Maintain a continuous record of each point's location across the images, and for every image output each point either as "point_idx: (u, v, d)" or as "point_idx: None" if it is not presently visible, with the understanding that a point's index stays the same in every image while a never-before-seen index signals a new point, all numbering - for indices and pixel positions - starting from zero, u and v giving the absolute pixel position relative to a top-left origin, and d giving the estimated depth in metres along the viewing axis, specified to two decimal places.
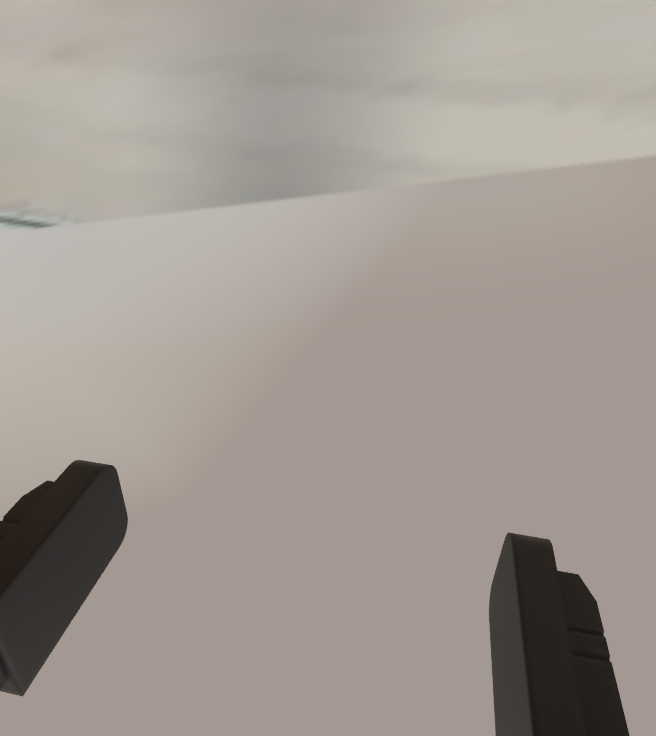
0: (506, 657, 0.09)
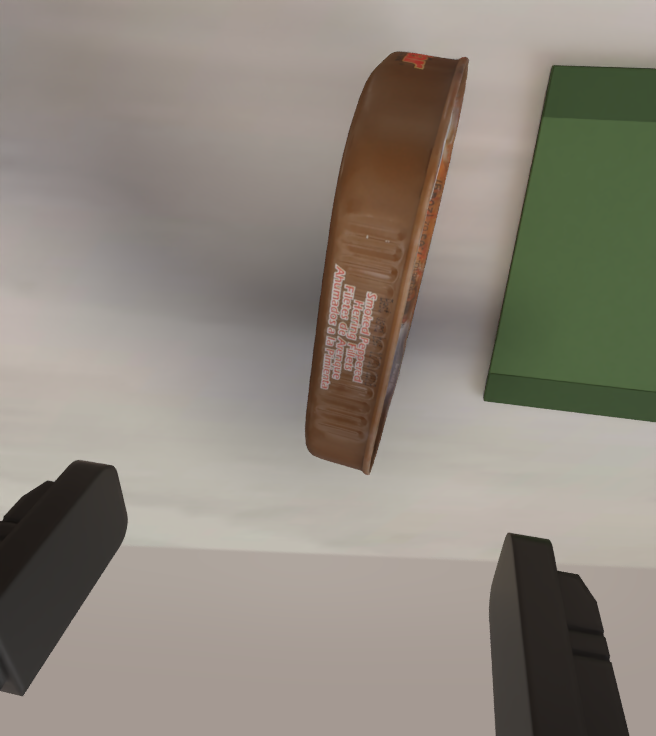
0: (506, 657, 0.09)
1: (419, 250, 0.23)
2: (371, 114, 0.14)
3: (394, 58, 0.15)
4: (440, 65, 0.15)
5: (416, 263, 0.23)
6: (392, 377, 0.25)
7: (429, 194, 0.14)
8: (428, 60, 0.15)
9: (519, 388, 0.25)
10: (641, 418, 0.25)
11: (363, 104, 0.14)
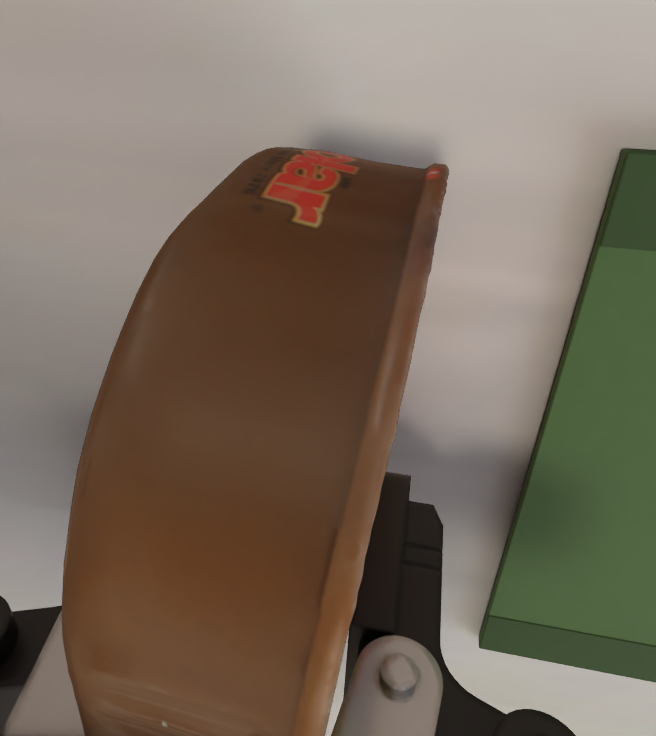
0: None
1: None
2: (145, 393, 0.04)
3: (243, 185, 0.05)
4: (370, 210, 0.05)
5: None
6: None
7: (333, 673, 0.04)
8: (338, 190, 0.05)
9: (537, 639, 0.16)
10: None
11: (124, 355, 0.05)
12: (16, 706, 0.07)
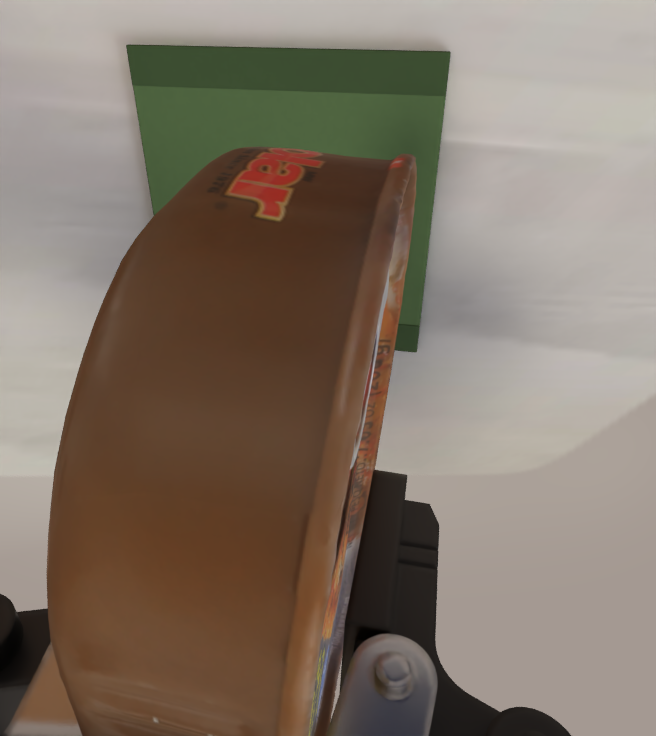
0: None
1: (362, 446, 0.13)
2: (115, 392, 0.04)
3: (207, 184, 0.05)
4: (333, 201, 0.05)
5: (360, 463, 0.13)
6: (341, 619, 0.16)
7: (313, 659, 0.04)
8: (302, 183, 0.06)
9: None
10: None
11: (94, 356, 0.05)
12: (22, 706, 0.07)
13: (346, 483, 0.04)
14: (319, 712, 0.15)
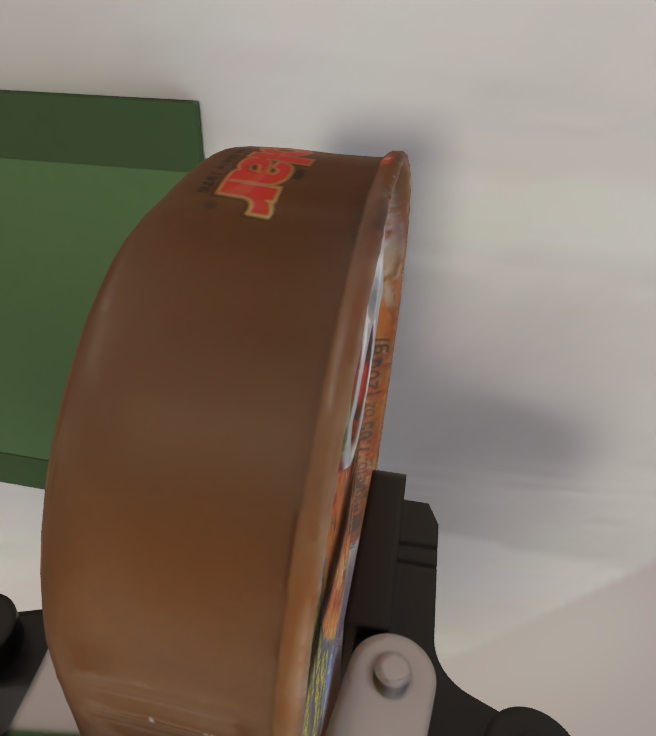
0: None
1: (364, 445, 0.13)
2: (105, 392, 0.05)
3: (197, 184, 0.06)
4: (322, 198, 0.05)
5: (362, 463, 0.13)
6: None
7: (305, 656, 0.04)
8: (291, 181, 0.06)
9: None
10: None
11: (84, 356, 0.05)
12: (22, 706, 0.07)
13: (335, 479, 0.04)
14: (325, 713, 0.15)
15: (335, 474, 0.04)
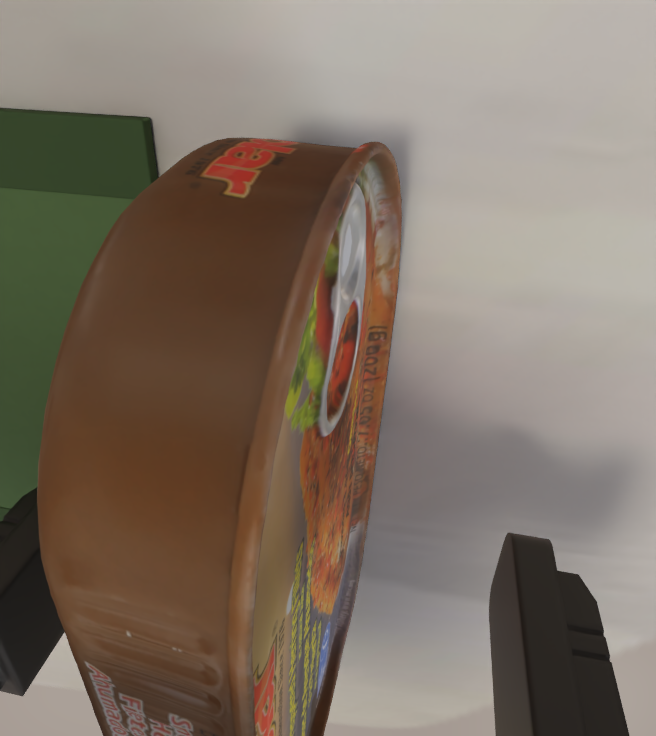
0: (506, 657, 0.09)
1: (363, 430, 0.13)
2: (94, 341, 0.05)
3: (186, 168, 0.06)
4: (293, 181, 0.06)
5: (361, 447, 0.14)
6: (345, 602, 0.16)
7: (252, 572, 0.05)
8: (269, 166, 0.06)
9: None
10: None
11: (78, 311, 0.05)
12: None
13: (281, 418, 0.05)
14: (321, 689, 0.15)
15: (281, 413, 0.05)
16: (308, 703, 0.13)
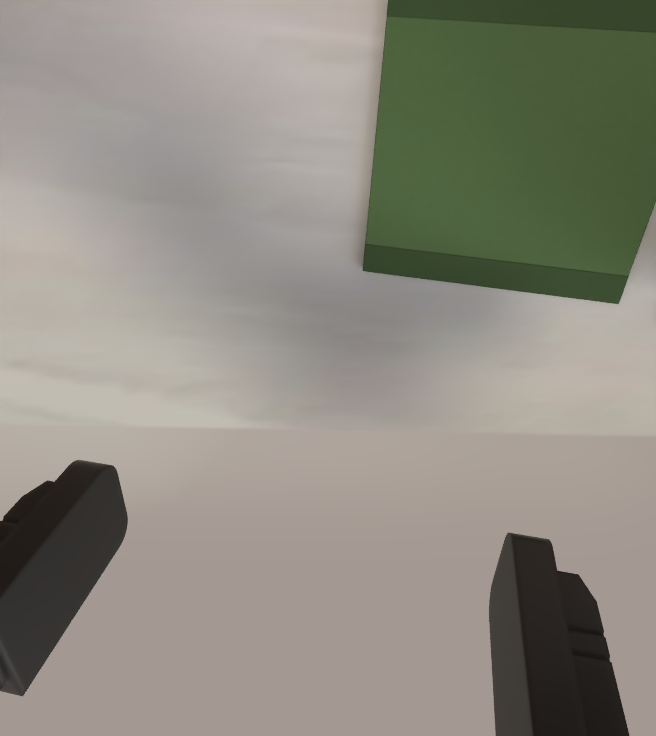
0: (506, 657, 0.09)
1: None
2: None
3: None
4: None
5: None
6: None
7: None
8: None
9: (389, 258, 0.31)
10: (486, 285, 0.31)
11: None
12: None
13: None
14: None
15: None
16: None
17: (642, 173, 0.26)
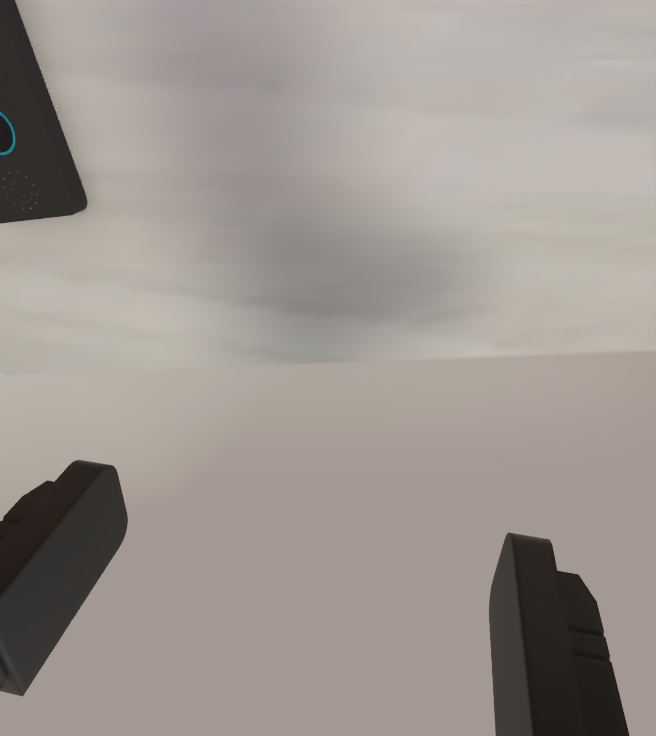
0: (506, 657, 0.09)
1: None
2: None
3: None
4: None
5: None
6: None
7: None
8: None
9: None
10: None
11: None
12: None
13: None
14: None
15: None
16: None
17: None
